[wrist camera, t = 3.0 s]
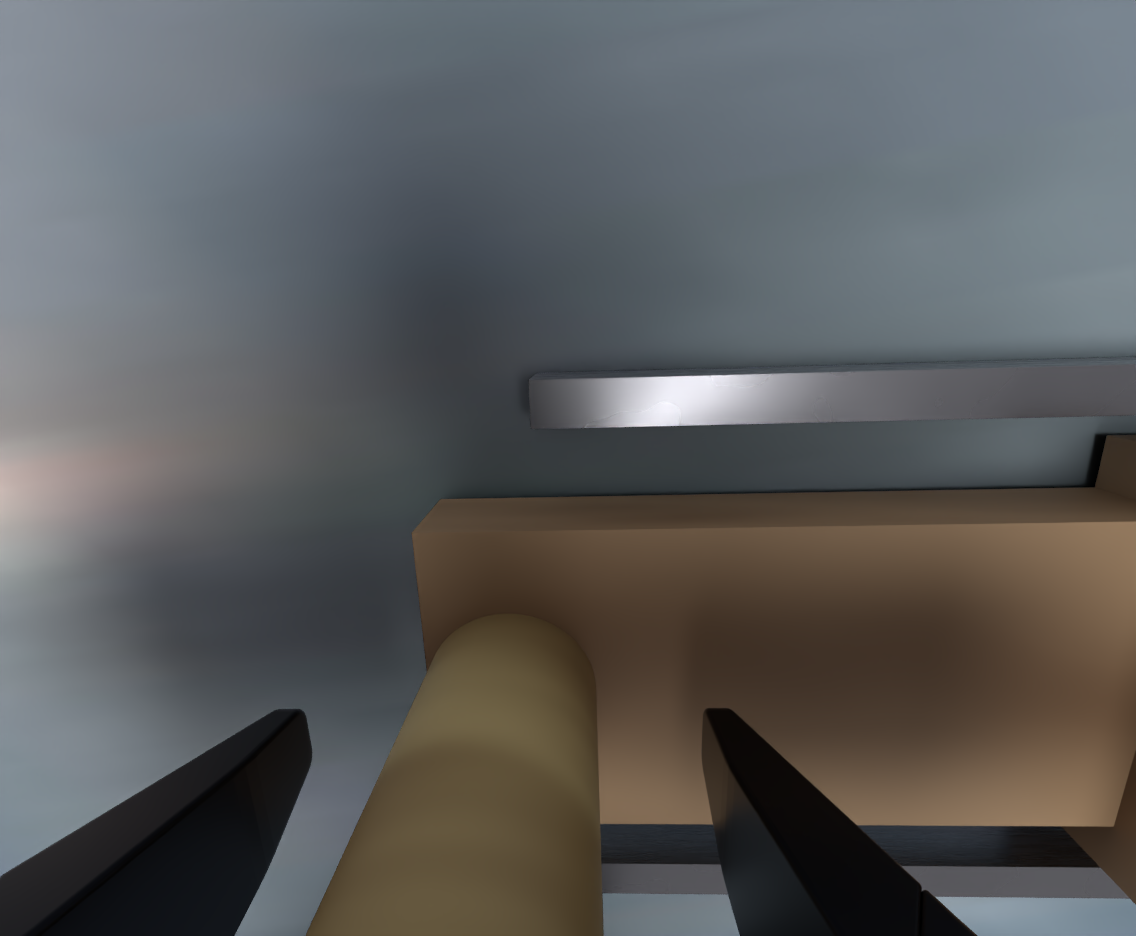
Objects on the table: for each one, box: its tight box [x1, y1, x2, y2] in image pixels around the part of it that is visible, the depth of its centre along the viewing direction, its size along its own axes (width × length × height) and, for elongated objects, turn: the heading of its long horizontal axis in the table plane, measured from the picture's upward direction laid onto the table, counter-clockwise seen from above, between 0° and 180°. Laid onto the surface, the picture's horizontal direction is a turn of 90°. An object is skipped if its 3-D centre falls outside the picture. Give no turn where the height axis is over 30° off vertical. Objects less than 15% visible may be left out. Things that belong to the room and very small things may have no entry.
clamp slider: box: [306, 435, 1136, 936], centre depth 7 cm, size 8×14×8 cm, turn 92°
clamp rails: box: [528, 357, 1136, 898], centre depth 10 cm, size 11×19×2 cm, turn 92°
